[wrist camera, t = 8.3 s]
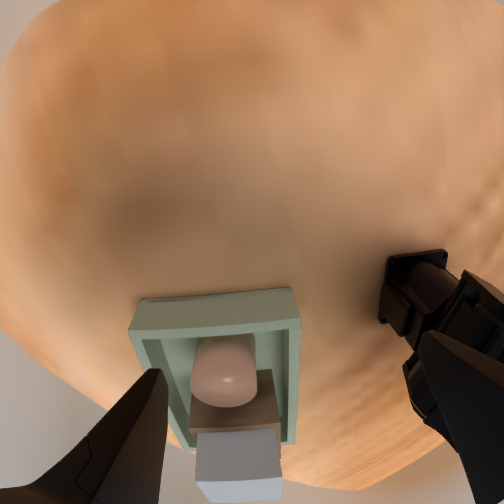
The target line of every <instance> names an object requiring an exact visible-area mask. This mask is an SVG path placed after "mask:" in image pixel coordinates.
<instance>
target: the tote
mask: <svg viewBox="0 0 504 504" xmlns="http://www.w3.org/2000/svg"><path fill="white" fill-rule="evenodd" d="M127 331H128V334H129V336H130V339H131V341H132V344H133V346H134V349H135V351H136V354H137V356H138V359H139V361H140V363H141V366H142V368H143V370H144V373H145V372H146V370H147V369H149V368H160V369H161V370H162V371H163V374H164V376H165V379H166V381H167V384H168V388H169V396H168V422H169V424H170V426H171V428H172V430H173V432H174V434H175V435H176V437H177V439H178V441H179V443H180V444H181V446H182V448H183V450H184V451H196V450H197V445H196V443H195V441H194V439H193V437H192V435H191V433H190V431H189V429H188V425H189V415H190V405H191V395H192V392H191V390H190V379H191V374H192V368H193V363H194V357H195V352H196V347H197V341H198V337H210V336H223V335H235V334H246V333H253V334H254V337H255V348H256V370H265V369H272V375H273V381H274V387H275V393H276V398H277V404H278V410H279V416H280V422H281V446H282V445H290V444H295V437H296V423H297V408H298V391H299V370H300V344H301V316H300V313H299V310H298V307H297V304H296V302H295V299H294V296H293V293H292V290H291V288H290V287H285V288H275V289H266V290H256V291H246V292H235V293H224V294H213V295H200V296H188V297H174V298H160V299H144V300H141V302H140V304H139V306H138V308H137V310H136V313H135V315H134V317H133V319H132V321H131V324H130V326H129V328H128V330H127Z"/></svg>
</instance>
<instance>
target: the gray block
mask: <svg viewBox="0 0 504 504" xmlns="http://www.w3.org/2000/svg"><path fill="white" fill-rule="evenodd" d="M195 482H196V483H197V485H198V486H199V488H200V489H201V490H202V492H203V493H204V494H205V496H206V497H207V498H208V500H209V501H210V502H211V503H234V502H253V501H265V500H274V499H281V498H282V471H281V465H280V458H279V451H278V445H277V438H276V431H275V428H271V429H261V430H250V431H237V432H216V433H197V450H196V469H195Z"/></svg>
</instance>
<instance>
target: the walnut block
mask: <svg viewBox="0 0 504 504" xmlns="http://www.w3.org/2000/svg"><path fill="white" fill-rule="evenodd" d="M256 375H257V393H256V395H255V397H254V398H253V399H252V400H251V401H249V402H248V403H246V404H243V405H240V406H236V407H217V406H212V405H209V404H206V403H204V402H202V401H200V400H199V399H198V398H196V397H195V396H194V395H193V393H192V395H191V405H190V415H189V425H188V429H189V431H190V433H191V435H192V437H193V439H194V441H195V443H196V445H197V433H216V432H237V431H250V430H261V429H271V428H275V431H276V438H277V445H278V451H279V458H280V459H281V422H280V416H279V410H278V404H277V398H276V393H275V387H274V381H273V375H272V369H265V370H256Z"/></svg>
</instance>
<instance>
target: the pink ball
mask: <svg viewBox="0 0 504 504" xmlns="http://www.w3.org/2000/svg"><path fill="white" fill-rule="evenodd" d="M190 390H191V392H192V393H193V395H194V396H195V397H196V398H198V399H199V400H200V401H202V402H204V403H206V404H209V405H212V406H217V407H236V406H240V405H243V404H246V403H248V402H249V401H251V400H252V399H253V398H254V397H255V395H256V393H257V375H256V348H255V337H254V334H253V333H246V334H235V335H223V336H210V337H198V341H197V347H196V352H195V357H194V363H193V368H192V374H191V379H190Z"/></svg>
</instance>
